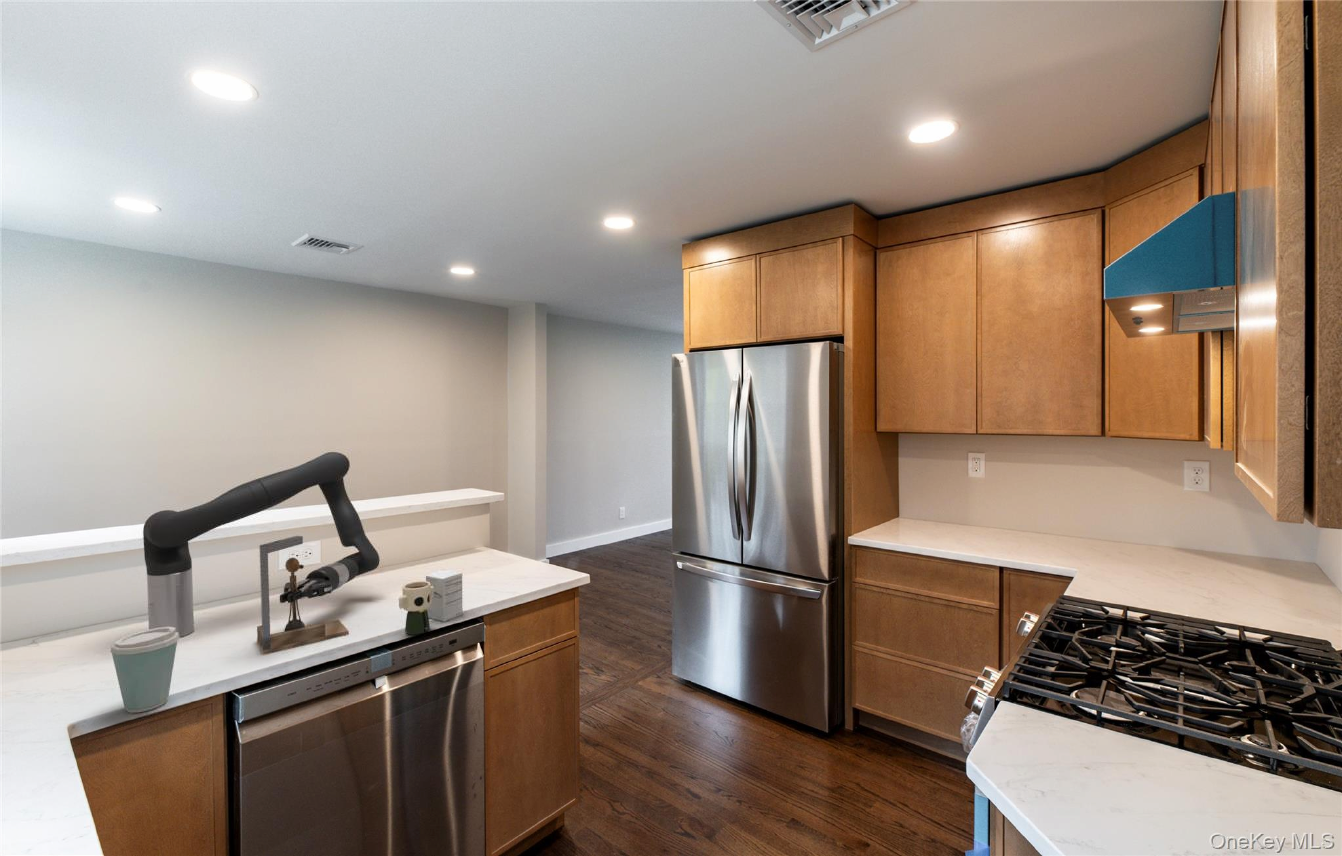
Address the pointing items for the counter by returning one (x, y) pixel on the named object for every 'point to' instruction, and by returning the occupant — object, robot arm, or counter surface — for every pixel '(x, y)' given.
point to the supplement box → (445, 595)
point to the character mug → (416, 605)
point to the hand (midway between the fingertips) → (285, 599)
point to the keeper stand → (264, 637)
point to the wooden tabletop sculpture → (292, 566)
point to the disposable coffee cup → (145, 667)
